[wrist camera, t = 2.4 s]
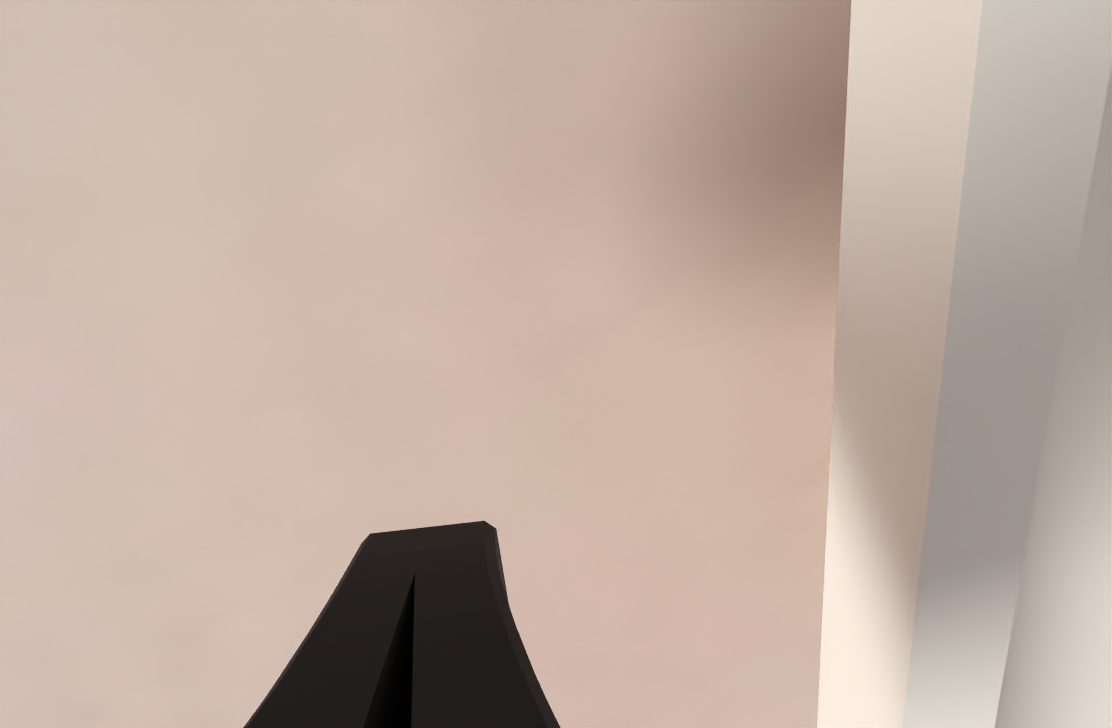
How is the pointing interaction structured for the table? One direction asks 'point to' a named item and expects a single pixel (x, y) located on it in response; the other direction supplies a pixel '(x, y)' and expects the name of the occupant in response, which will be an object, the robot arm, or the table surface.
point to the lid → (972, 371)
